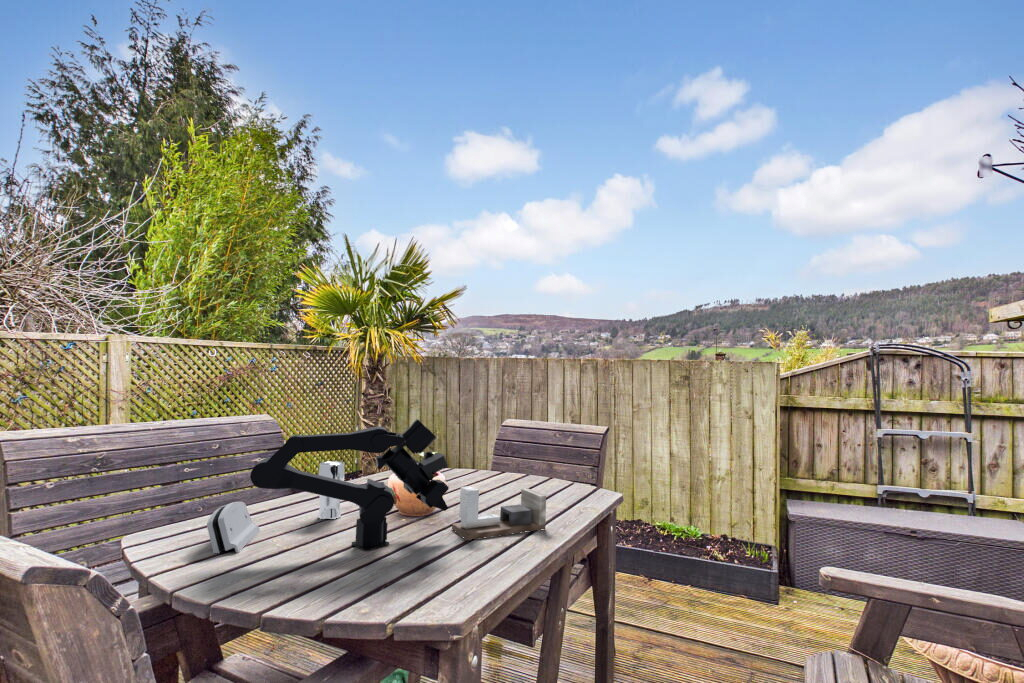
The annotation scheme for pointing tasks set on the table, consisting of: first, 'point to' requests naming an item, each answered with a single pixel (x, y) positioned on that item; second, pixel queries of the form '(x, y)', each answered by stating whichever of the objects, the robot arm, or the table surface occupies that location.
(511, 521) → the plate
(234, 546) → the grey rounded panel block
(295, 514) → the table surface
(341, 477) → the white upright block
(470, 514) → the white l-shaped block
